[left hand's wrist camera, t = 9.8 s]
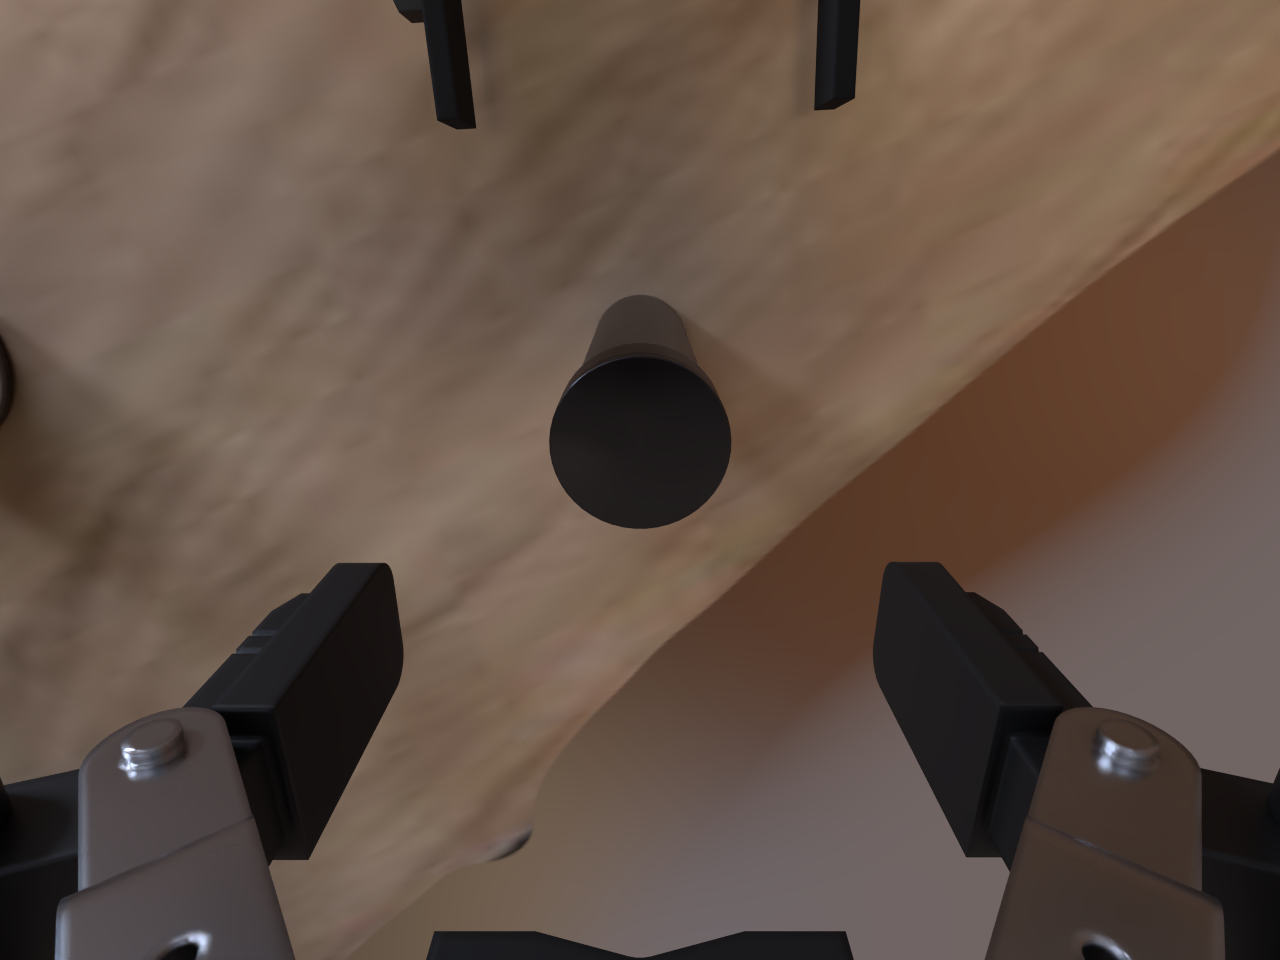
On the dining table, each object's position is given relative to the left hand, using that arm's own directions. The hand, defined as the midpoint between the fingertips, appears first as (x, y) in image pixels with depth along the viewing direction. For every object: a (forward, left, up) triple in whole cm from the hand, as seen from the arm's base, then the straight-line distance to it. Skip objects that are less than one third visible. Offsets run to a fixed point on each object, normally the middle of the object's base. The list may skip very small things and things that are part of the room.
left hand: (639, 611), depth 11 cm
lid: (0, 0, -8) cm, 8 cm away
